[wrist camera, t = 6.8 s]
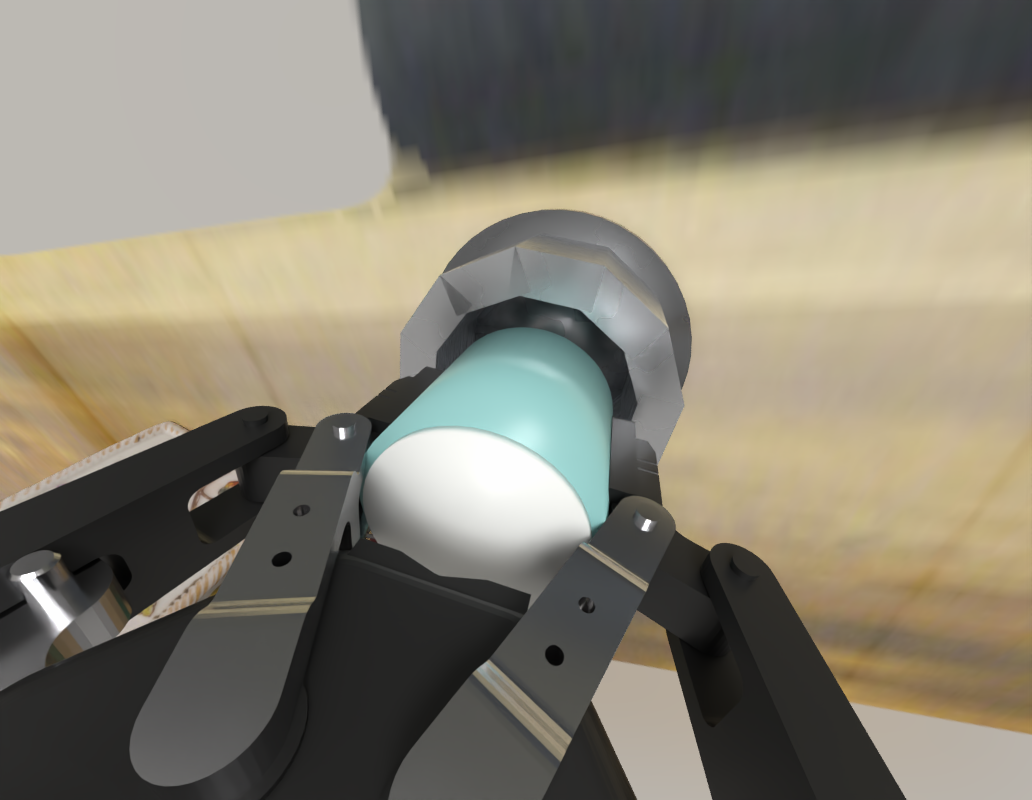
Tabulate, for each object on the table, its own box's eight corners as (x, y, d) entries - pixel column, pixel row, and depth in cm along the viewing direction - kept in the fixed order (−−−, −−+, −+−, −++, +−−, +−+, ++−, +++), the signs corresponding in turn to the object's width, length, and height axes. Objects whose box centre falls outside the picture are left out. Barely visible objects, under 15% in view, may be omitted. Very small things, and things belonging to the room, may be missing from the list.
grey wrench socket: (738, 242, 15) (791, 264, 10) (637, 479, 21) (641, 560, 16) (442, 183, 16) (372, 179, 12) (428, 420, 22) (378, 478, 18)
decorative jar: (311, 491, 28) (-77, 863, 12) (291, 574, 34) (14, 894, 18) (163, 412, 28) (-417, 688, 12) (170, 509, 34) (-214, 777, 18)
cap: (636, 352, 12) (647, 471, 7) (587, 493, 14) (569, 649, 10) (455, 308, 12) (342, 386, 7) (443, 451, 15) (356, 575, 10)
